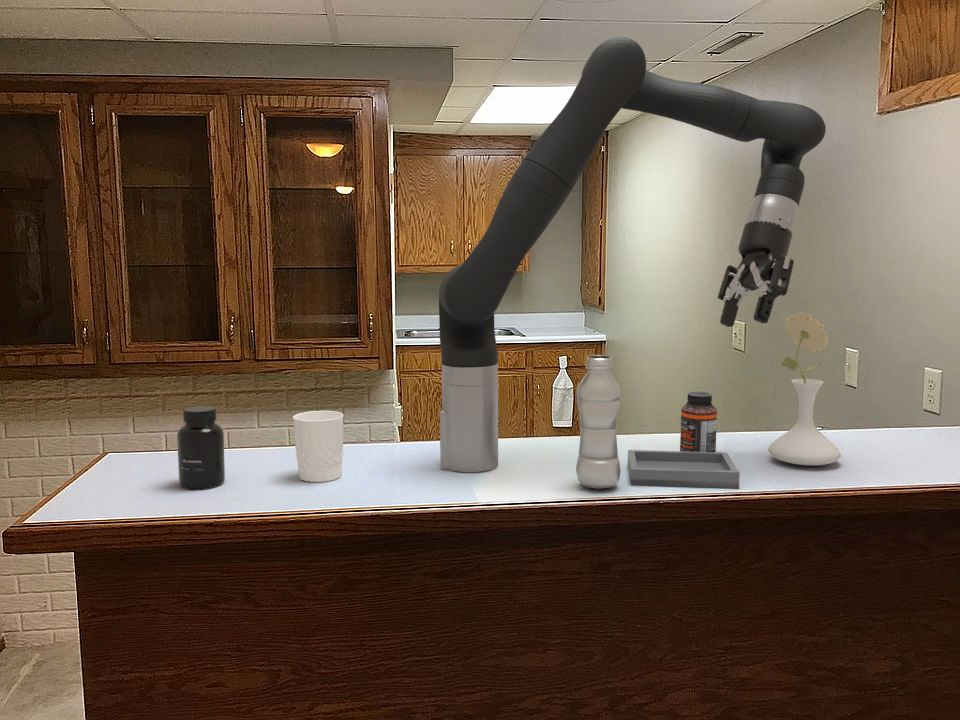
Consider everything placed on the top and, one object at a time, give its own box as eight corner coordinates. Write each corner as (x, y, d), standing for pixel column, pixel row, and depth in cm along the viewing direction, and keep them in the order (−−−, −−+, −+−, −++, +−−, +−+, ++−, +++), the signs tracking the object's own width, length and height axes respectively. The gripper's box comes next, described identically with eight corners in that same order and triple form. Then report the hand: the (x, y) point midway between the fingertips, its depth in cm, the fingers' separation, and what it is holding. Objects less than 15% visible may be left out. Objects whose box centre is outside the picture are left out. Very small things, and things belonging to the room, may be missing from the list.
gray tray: (630, 485, 127) (631, 469, 127) (627, 464, 139) (628, 449, 139) (738, 488, 125) (739, 472, 125) (726, 467, 137) (727, 452, 137)
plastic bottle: (619, 494, 123) (621, 360, 120) (573, 492, 124) (574, 359, 121) (621, 482, 129) (623, 354, 126) (577, 480, 130) (578, 353, 128)
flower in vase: (854, 469, 135) (863, 315, 132) (789, 473, 133) (796, 317, 130) (811, 449, 148) (818, 309, 144) (750, 452, 146) (756, 310, 143)
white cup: (315, 467, 139) (313, 409, 137) (355, 473, 135) (353, 413, 134) (285, 480, 132) (282, 418, 130) (325, 486, 128) (323, 422, 127)
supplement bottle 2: (672, 456, 144) (673, 392, 143) (697, 452, 147) (699, 388, 145) (697, 464, 139) (699, 397, 137) (723, 459, 142) (725, 394, 140)
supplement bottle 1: (183, 493, 125) (178, 414, 124) (176, 481, 131) (172, 406, 130) (229, 486, 129) (225, 410, 127) (221, 475, 135) (217, 402, 133)
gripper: (723, 228, 139) (697, 319, 137) (779, 211, 126) (752, 311, 124) (758, 244, 142) (733, 334, 139) (818, 229, 128) (792, 328, 126)
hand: (742, 323), depth 132 cm, fingers open, 8 cm apart
